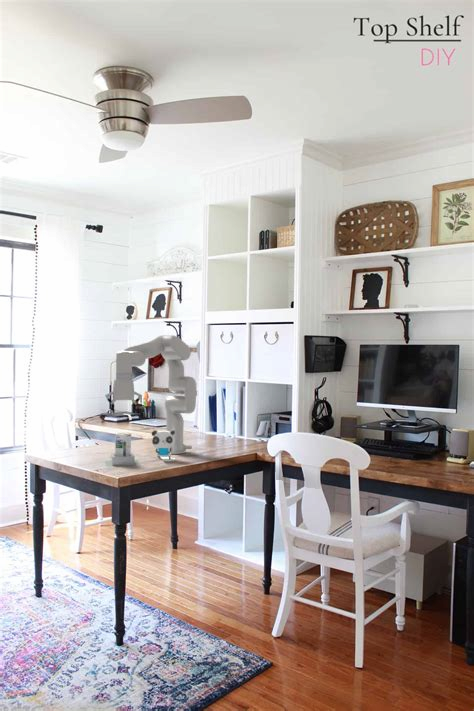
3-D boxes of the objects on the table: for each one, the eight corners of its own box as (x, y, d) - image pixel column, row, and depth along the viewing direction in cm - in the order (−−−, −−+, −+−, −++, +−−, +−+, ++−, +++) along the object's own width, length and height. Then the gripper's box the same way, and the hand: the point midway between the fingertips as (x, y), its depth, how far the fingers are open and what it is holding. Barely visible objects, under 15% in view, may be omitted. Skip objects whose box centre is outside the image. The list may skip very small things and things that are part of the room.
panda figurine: (149, 461, 307) (150, 431, 307) (153, 457, 318) (154, 428, 318) (173, 461, 306) (173, 432, 306) (176, 457, 318) (176, 429, 318)
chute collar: (132, 460, 298) (132, 452, 298) (134, 464, 288) (134, 456, 288) (111, 461, 296) (111, 453, 296) (112, 465, 286) (112, 457, 286)
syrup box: (114, 463, 290) (114, 433, 290) (120, 461, 296) (121, 432, 296) (124, 464, 288) (125, 434, 288) (131, 462, 294) (131, 432, 294)
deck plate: (137, 463, 301) (137, 460, 301) (140, 468, 287) (140, 465, 287) (105, 464, 297) (105, 461, 297) (106, 469, 283) (106, 466, 283)
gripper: (140, 376, 298) (140, 411, 298) (105, 376, 293) (104, 411, 293) (142, 377, 291) (142, 412, 291) (106, 377, 286) (105, 413, 286)
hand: (123, 412), depth 292 cm, fingers open, 9 cm apart
